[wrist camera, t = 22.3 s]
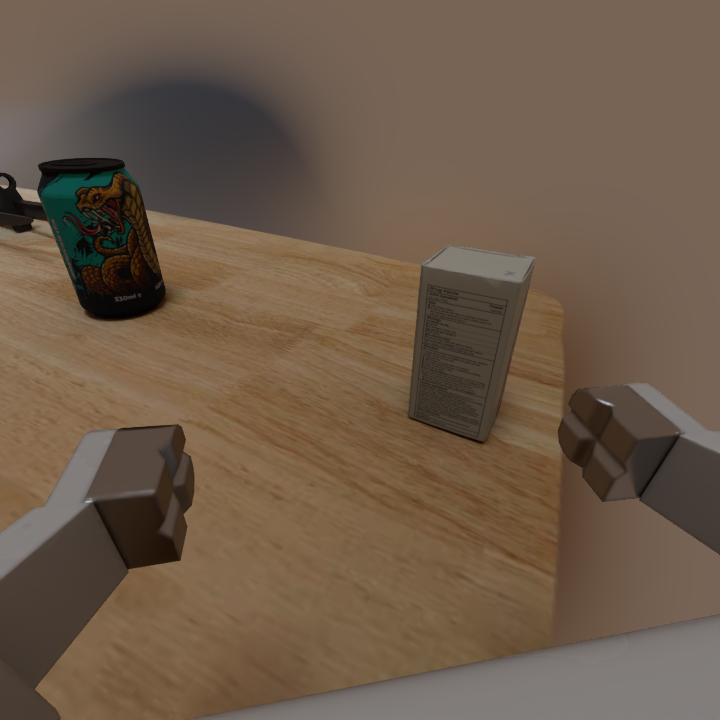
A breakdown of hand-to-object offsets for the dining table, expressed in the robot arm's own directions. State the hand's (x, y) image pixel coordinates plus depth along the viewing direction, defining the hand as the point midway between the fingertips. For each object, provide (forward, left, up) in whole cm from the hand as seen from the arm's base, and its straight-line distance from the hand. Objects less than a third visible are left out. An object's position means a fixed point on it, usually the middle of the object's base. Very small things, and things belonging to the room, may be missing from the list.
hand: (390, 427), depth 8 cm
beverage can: (+30, -20, -12) cm, 38 cm away
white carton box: (-1, -15, -12) cm, 19 cm away
